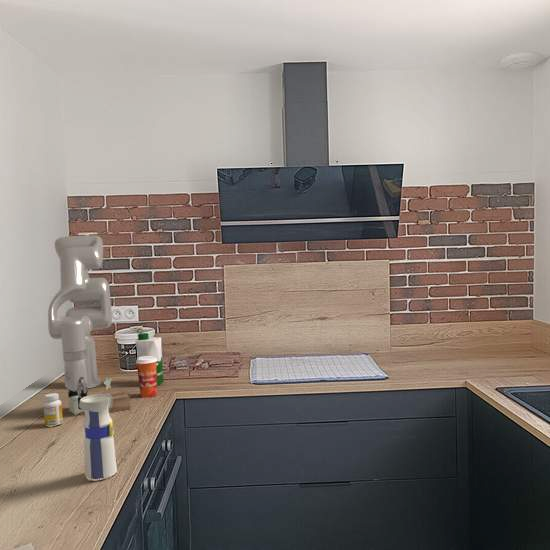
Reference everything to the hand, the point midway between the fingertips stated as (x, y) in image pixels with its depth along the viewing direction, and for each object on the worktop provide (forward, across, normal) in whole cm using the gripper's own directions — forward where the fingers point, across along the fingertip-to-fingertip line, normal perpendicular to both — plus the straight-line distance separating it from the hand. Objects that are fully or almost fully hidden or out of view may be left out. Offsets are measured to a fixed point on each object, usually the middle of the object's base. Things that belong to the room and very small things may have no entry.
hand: (78, 405), depth 209 cm
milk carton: (+2, -16, +34) cm, 38 cm away
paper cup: (+2, -1, +26) cm, 26 cm away
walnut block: (+2, +6, +9) cm, 11 cm away
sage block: (+2, 0, 0) cm, 2 cm away
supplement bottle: (+2, +9, -11) cm, 14 cm away
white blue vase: (+3, +59, -14) cm, 61 cm away
